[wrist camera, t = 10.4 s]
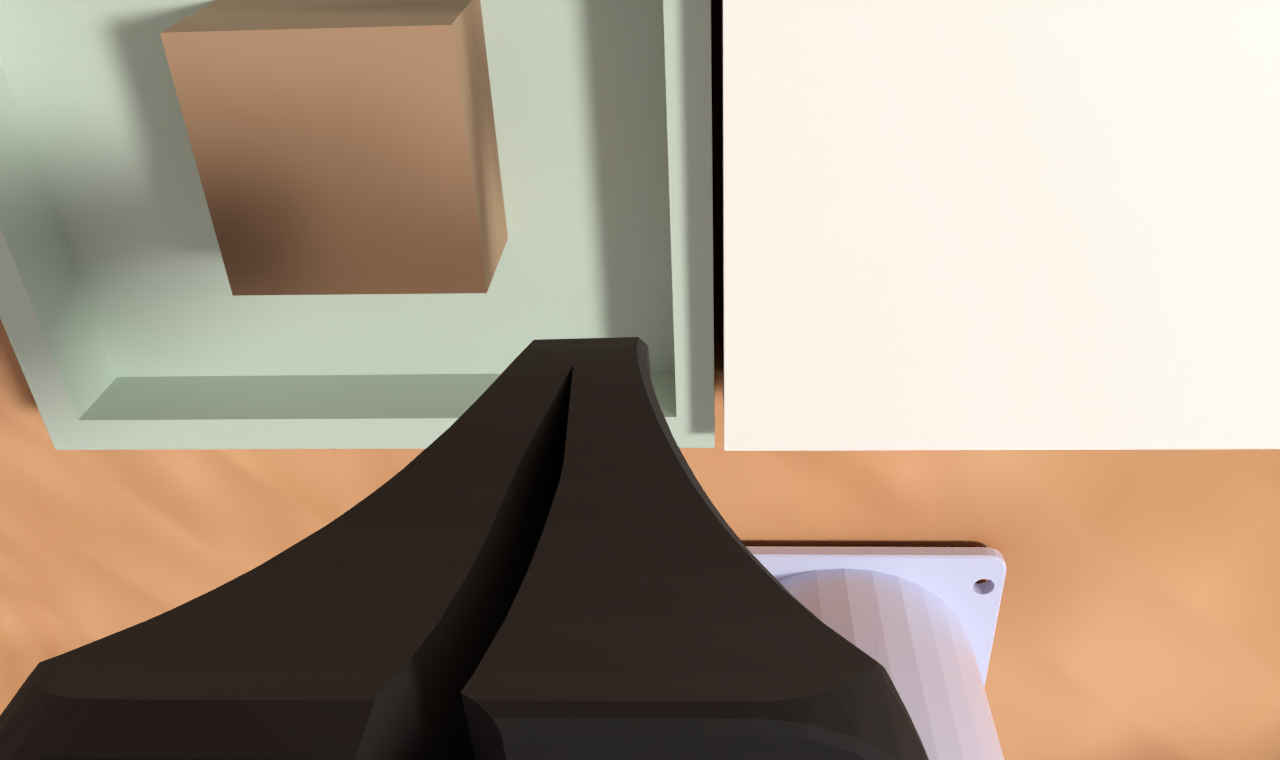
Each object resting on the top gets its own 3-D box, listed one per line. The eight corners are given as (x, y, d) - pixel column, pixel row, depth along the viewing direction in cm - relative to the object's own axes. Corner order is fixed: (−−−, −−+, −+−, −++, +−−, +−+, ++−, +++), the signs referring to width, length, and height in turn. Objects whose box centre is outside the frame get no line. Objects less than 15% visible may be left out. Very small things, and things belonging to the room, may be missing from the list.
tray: (714, 391, 24) (714, 447, 23) (103, 396, 25) (55, 449, 24) (708, -264, 17) (708, -261, 16) (-131, -219, 19) (-224, -213, 17)
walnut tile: (233, 295, 20) (277, 241, 22) (486, 293, 20) (508, 238, 22) (159, 32, 18) (218, -1, 20) (451, 25, 17) (479, -9, 19)
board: (1408, 367, 23) (1494, 448, 20) (722, 373, 24) (724, 450, 22) (1669, -277, 17) (1840, -275, 14) (721, -229, 18) (722, -220, 15)
